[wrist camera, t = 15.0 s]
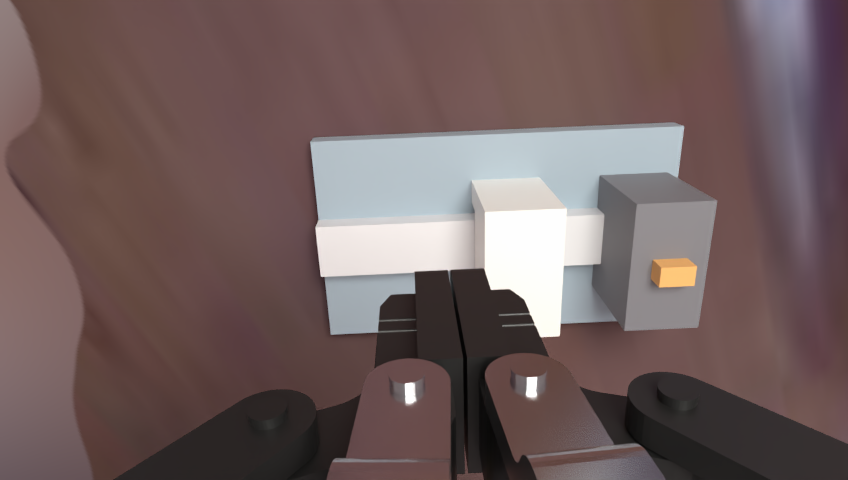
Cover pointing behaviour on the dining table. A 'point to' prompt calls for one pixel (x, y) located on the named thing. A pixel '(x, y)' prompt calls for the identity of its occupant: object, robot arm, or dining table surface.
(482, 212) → the din module
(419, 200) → the rail board
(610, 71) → the dining table surface
